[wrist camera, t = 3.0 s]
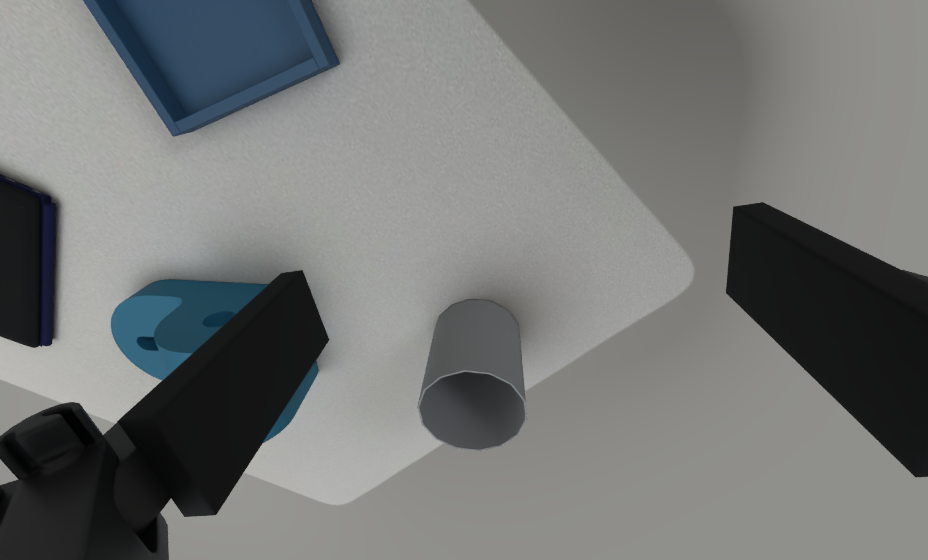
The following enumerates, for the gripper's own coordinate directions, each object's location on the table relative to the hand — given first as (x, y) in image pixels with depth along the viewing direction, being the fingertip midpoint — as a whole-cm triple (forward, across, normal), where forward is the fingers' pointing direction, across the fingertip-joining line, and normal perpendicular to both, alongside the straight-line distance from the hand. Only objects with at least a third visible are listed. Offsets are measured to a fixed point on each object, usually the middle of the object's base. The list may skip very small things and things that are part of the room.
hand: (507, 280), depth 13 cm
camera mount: (+22, -30, -12) cm, 39 cm away
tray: (+21, -18, +14) cm, 31 cm away
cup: (+23, -5, -16) cm, 29 cm away
